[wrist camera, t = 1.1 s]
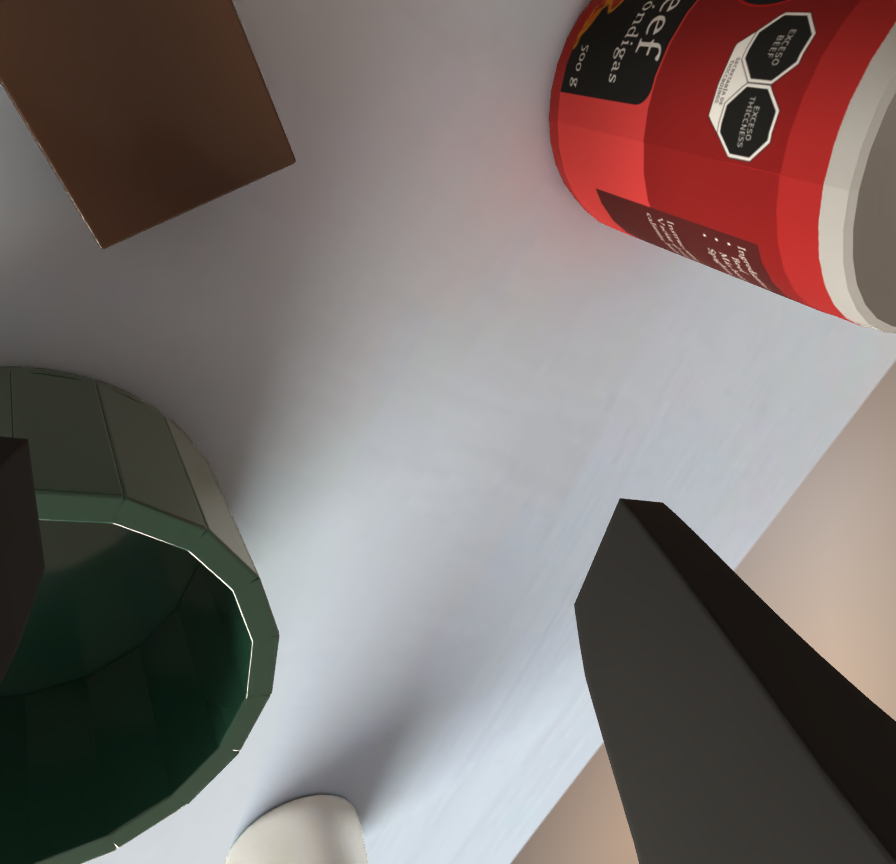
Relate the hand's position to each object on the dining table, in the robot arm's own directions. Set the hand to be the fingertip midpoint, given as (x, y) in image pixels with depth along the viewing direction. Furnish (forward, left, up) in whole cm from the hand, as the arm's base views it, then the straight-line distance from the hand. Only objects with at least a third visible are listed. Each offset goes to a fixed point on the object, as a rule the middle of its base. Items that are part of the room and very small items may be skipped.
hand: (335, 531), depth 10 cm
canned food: (+14, +6, -14) cm, 21 cm away
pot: (-4, -9, -13) cm, 17 cm away
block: (-1, +4, -13) cm, 14 cm away
